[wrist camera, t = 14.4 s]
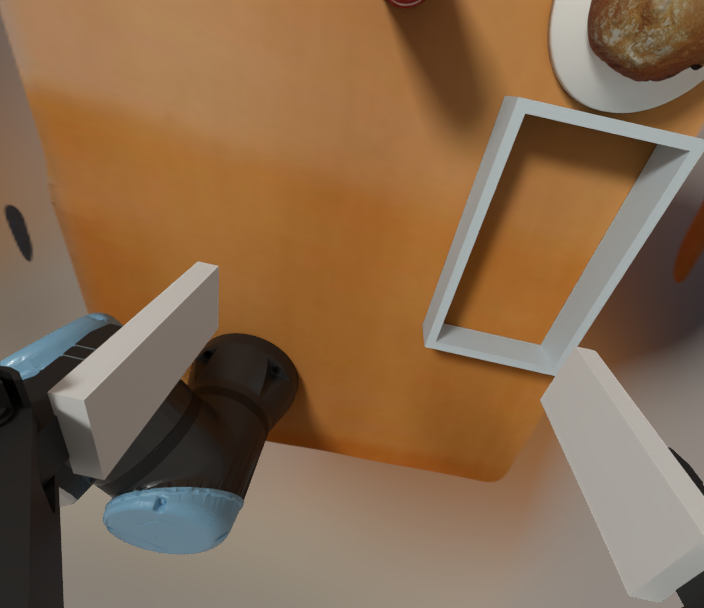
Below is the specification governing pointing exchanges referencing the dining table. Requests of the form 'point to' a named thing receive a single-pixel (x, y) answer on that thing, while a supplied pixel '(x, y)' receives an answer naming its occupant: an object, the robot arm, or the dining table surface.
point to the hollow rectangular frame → (603, 268)
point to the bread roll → (647, 36)
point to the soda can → (405, 3)
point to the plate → (602, 67)
